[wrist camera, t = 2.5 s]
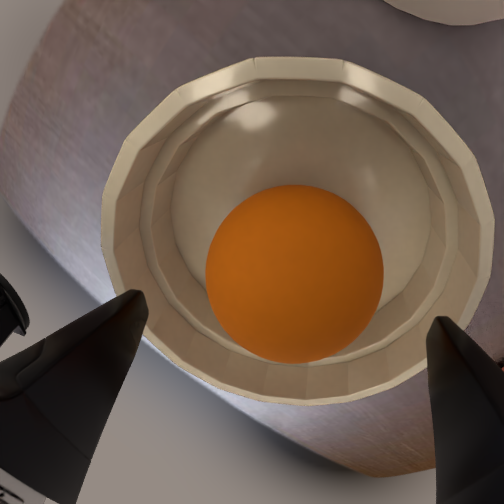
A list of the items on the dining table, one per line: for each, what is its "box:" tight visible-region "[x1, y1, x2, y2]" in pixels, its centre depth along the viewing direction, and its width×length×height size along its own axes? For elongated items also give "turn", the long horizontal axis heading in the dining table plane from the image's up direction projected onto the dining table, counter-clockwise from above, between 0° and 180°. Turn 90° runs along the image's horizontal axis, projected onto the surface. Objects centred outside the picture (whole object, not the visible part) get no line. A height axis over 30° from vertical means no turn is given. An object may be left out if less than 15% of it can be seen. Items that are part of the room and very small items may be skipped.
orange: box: [205, 185, 384, 364], centre depth 10 cm, size 6×6×6 cm
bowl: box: [101, 57, 495, 406], centre depth 12 cm, size 14×14×4 cm
